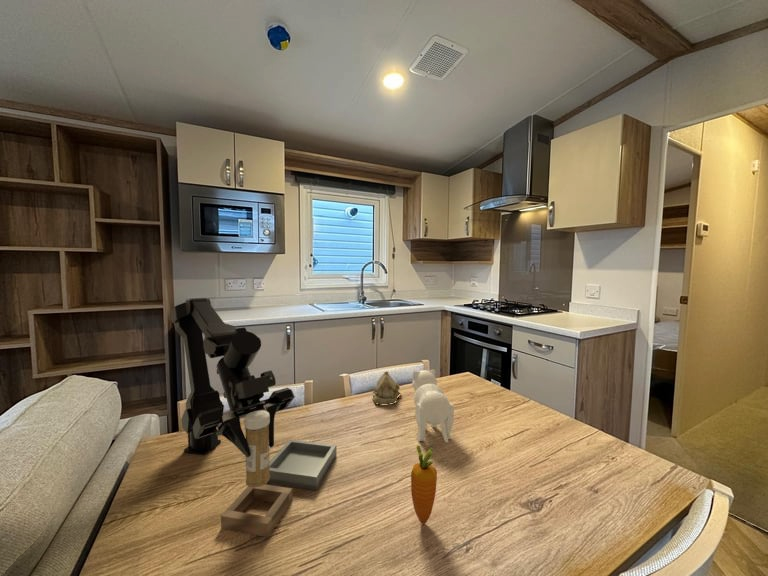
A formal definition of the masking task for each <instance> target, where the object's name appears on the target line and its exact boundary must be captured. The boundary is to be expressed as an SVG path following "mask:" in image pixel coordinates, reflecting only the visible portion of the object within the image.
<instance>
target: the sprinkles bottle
mask: <svg viewBox="0 0 768 576" xmlns="http://www.w3.org/2000/svg"><path fill="white" fill-rule="evenodd" d="M243 422H244V424H243V425H244V429H245V439H246V441H247V444H248V446H249V450H250V454H251V455H250V457H248V458H247V457H246V456H245V470H246V475H245V476H246V477H245V478H246V479H245V484H246V487H248V486H249V487H252V488H256V487H261V486H263V485H265V484H266V485H267V484H268V483H267V482H268V481H269V479H270V474H269V462H270V460H271V459H270V446H269V423H270V414H269V413H268V412H267V411H263V410H259V411H253V412H250V413H248V414H247V415H246V416H244V421H243Z"/></svg>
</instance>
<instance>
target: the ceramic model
mask: <svg viewBox="0 0 768 576" xmlns="http://www.w3.org/2000/svg"><path fill="white" fill-rule="evenodd" d="M399 390H400V385H399V383H397V382H396V381H395V380H394V379H393V377H391V375H390V373H389V371H384V373H383V374H382V375H381V376H380V377H379V378H378V380H377V382H376V388H375V389H374V390H372V393H374V394H375V395H373V398H372V401H373V400H374V401H373V403H374V402H375V403H378V404H390V403H394V402H395V401H396V400H397V396H398V395H399V394H401V395H402V393H401V392H400V391H399ZM397 401H398V400H397ZM375 403H374V404H375Z"/></svg>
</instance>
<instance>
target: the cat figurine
mask: <svg viewBox="0 0 768 576" xmlns="http://www.w3.org/2000/svg"><path fill="white" fill-rule="evenodd" d="M409 383H410V384H411V383H412V387H413V390H414V391H415V392H414V397H413V402H414V405H415V414H414V419H415V421H416V424H417V428H418V431H417V432H418V433H417V434H416V439H417V440H418V442H424V441H425V437H426V431H427V425H428V424H429V425H430V427H431V426H432V428H437V425H440V432H441V434H442V437H443V440H444V442H445V443H449V440H451V431H452V429H453V423H454V417H455V415H454V414H455V406H454V404H453V403H451V402H450V401H449V399H448V398H447V396H446V395H445V393H444V391H443V390H442V389H441V388H440V387H439V386H438V381H437V378H436V370H435V369H430V370H425V369H424V370H423V369H421V370H419V371H418V370H414V371H413V372H412V381H410V382H408V384H409Z"/></svg>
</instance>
